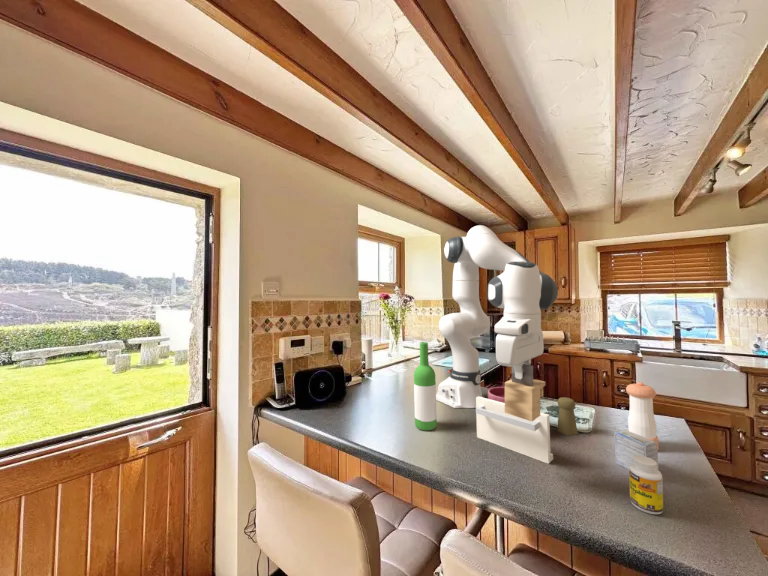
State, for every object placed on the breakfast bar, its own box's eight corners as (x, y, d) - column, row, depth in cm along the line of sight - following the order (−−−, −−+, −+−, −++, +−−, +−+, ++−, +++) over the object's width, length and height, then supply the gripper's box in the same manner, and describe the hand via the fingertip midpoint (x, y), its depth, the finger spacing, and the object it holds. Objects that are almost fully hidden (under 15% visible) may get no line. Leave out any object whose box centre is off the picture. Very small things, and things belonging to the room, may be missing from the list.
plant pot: (517, 419, 114) (516, 384, 114) (542, 436, 100) (541, 397, 100) (481, 422, 112) (480, 387, 112) (502, 441, 98) (501, 400, 98)
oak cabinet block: (504, 412, 80) (504, 363, 80) (518, 404, 86) (518, 358, 86) (532, 421, 75) (532, 368, 75) (545, 411, 81) (545, 362, 80)
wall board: (471, 440, 98) (469, 400, 98) (482, 433, 103) (481, 395, 103) (543, 469, 82) (541, 420, 82) (553, 459, 87) (551, 412, 87)
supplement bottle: (624, 502, 68) (622, 456, 69) (638, 495, 71) (637, 451, 71) (654, 519, 63) (653, 469, 63) (669, 511, 66) (667, 463, 66)
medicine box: (659, 476, 78) (658, 442, 78) (647, 480, 76) (645, 445, 76) (627, 460, 85) (625, 429, 85) (615, 463, 84) (614, 431, 84)
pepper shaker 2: (665, 450, 90) (662, 385, 90) (644, 453, 89) (642, 386, 89) (640, 438, 97) (638, 378, 97) (621, 441, 96) (618, 379, 96)
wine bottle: (423, 420, 115) (421, 340, 115) (441, 426, 109) (439, 342, 110) (410, 427, 109) (408, 342, 110) (427, 433, 104) (425, 345, 104)
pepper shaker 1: (580, 435, 100) (579, 402, 100) (560, 434, 101) (559, 401, 101) (573, 427, 106) (572, 395, 106) (554, 426, 107) (553, 395, 107)
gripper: (526, 319, 88) (526, 367, 89) (490, 326, 75) (490, 382, 75) (550, 321, 84) (550, 371, 84) (516, 329, 70) (516, 389, 70)
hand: (521, 377), depth 79 cm, fingers closed on oak cabinet block
